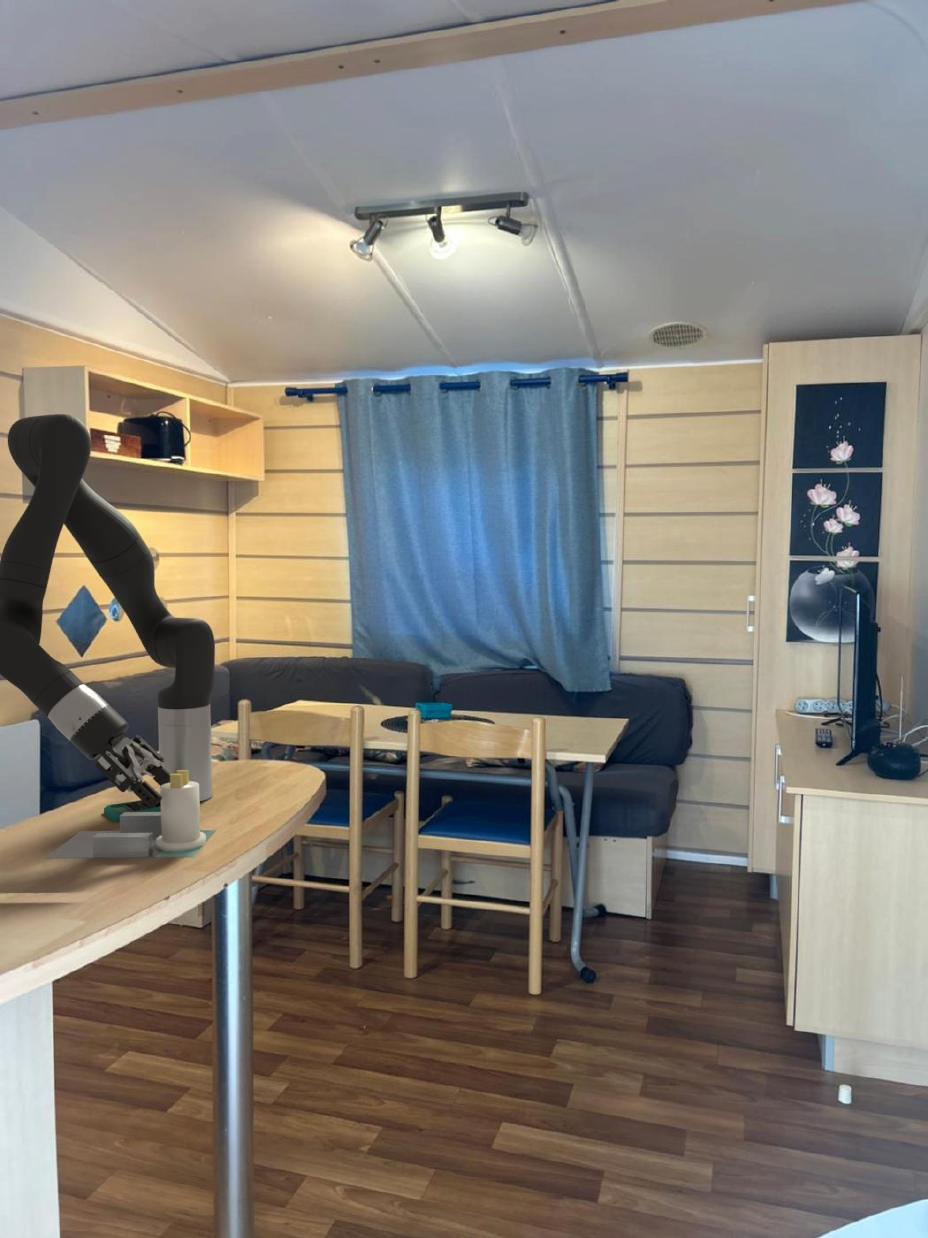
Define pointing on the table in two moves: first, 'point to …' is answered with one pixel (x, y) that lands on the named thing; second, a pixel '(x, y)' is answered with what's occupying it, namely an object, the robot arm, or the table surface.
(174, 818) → the plug
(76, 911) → the table surface
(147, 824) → the housing
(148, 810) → the digital multimeter
